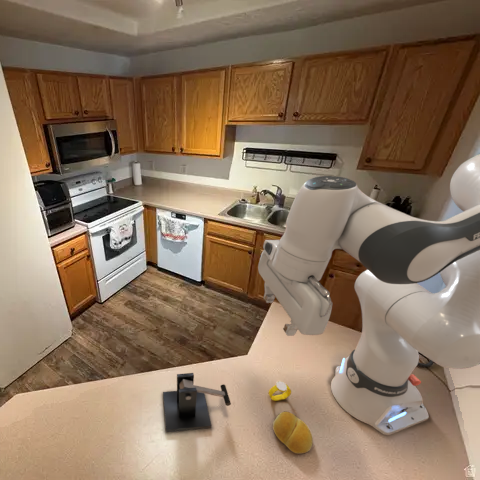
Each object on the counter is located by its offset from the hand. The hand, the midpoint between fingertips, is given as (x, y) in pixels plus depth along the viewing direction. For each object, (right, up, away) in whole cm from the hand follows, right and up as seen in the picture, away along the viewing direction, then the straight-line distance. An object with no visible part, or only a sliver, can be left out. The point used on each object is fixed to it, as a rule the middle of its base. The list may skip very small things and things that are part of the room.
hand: (277, 315), depth 56 cm
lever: (-14, -25, +13) cm, 31 cm away
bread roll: (+8, -34, +11) cm, 36 cm away
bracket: (-18, -31, +17) cm, 40 cm away
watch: (+9, -30, +19) cm, 36 cm away
